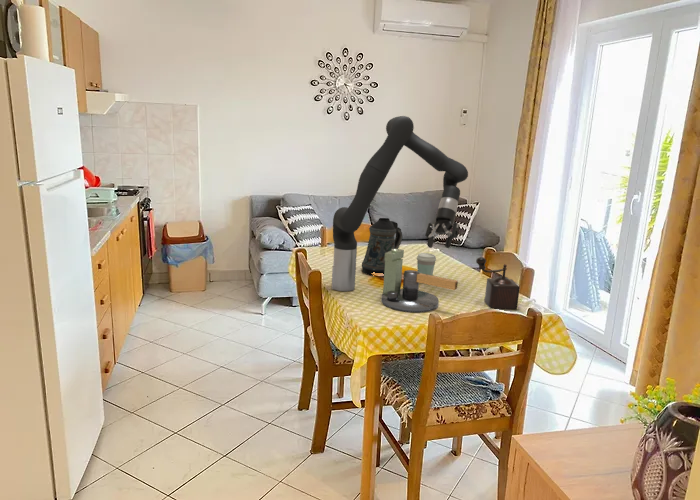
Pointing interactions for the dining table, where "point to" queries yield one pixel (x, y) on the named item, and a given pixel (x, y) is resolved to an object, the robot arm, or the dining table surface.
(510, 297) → the manual coffee grinder
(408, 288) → the wooden handled mallet
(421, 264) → the coffee cup
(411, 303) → the base
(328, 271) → the dining table surface
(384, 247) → the beer stein
